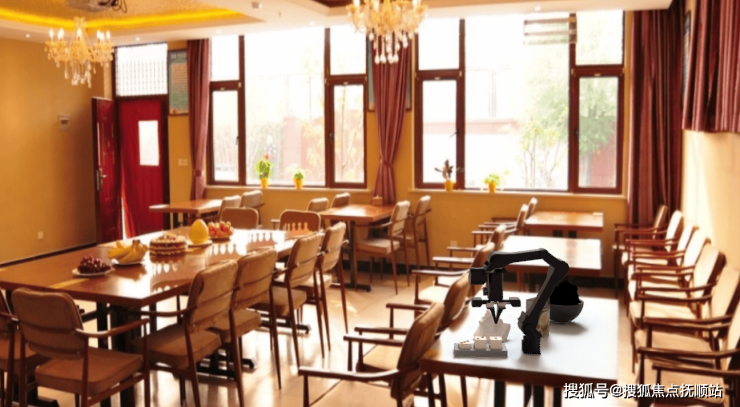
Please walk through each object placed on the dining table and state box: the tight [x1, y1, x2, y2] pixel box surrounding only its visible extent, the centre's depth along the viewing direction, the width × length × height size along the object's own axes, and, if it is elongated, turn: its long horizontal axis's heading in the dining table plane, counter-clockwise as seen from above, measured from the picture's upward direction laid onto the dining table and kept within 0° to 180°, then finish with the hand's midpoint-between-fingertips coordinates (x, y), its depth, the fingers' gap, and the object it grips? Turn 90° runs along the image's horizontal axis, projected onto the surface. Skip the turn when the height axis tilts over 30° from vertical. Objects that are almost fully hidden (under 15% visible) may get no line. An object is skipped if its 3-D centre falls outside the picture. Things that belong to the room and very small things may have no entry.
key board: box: [453, 342, 509, 358], centre depth 262 cm, size 20×9×2 cm, turn 86°
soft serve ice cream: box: [473, 309, 511, 343], centre depth 278 cm, size 12×15×14 cm
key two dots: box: [473, 335, 487, 349], centre depth 262 cm, size 4×4×4 cm
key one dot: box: [490, 337, 503, 349], centre depth 262 cm, size 4×4×4 cm
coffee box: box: [525, 296, 551, 339], centre depth 283 cm, size 9×6×16 cm
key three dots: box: [458, 339, 472, 349], centre depth 263 cm, size 4×4×4 cm
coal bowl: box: [543, 279, 585, 324], centre depth 304 cm, size 20×20×19 cm
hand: (495, 323), depth 261 cm, fingers closed
